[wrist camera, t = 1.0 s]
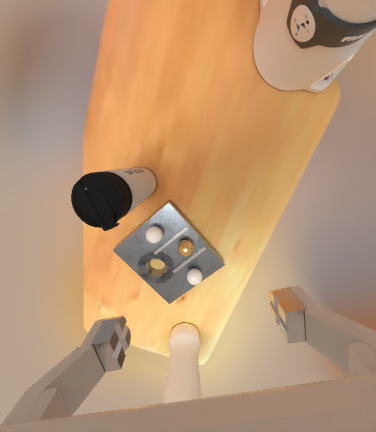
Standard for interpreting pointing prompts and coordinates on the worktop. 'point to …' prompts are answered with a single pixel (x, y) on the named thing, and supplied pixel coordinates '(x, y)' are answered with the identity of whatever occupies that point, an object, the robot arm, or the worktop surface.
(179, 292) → the plate
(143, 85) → the worktop surface
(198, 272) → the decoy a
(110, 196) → the travel mug
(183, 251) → the brass ball
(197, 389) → the bottle
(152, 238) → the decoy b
